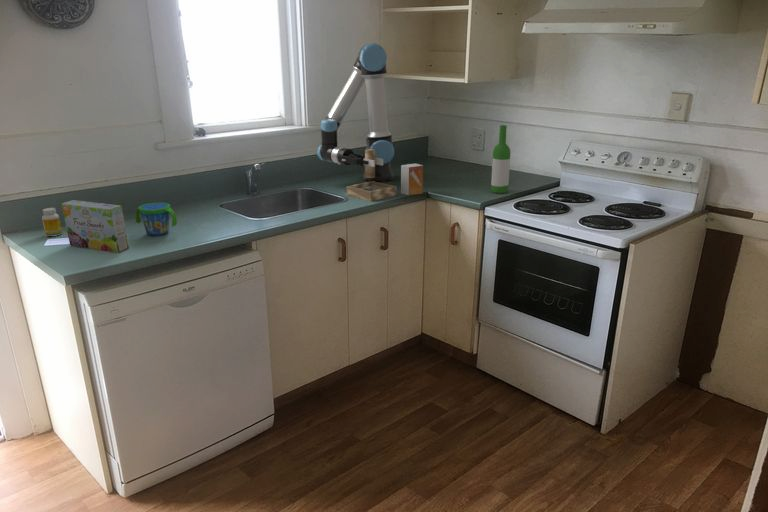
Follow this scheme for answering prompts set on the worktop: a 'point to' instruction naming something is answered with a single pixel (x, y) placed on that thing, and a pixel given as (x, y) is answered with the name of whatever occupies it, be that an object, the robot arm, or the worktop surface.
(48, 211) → the supplement bottle
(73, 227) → the snack box
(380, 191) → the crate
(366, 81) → the robot arm
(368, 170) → the peg
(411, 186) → the small box
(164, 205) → the snack cup
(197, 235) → the worktop surface
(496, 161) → the wine bottle
